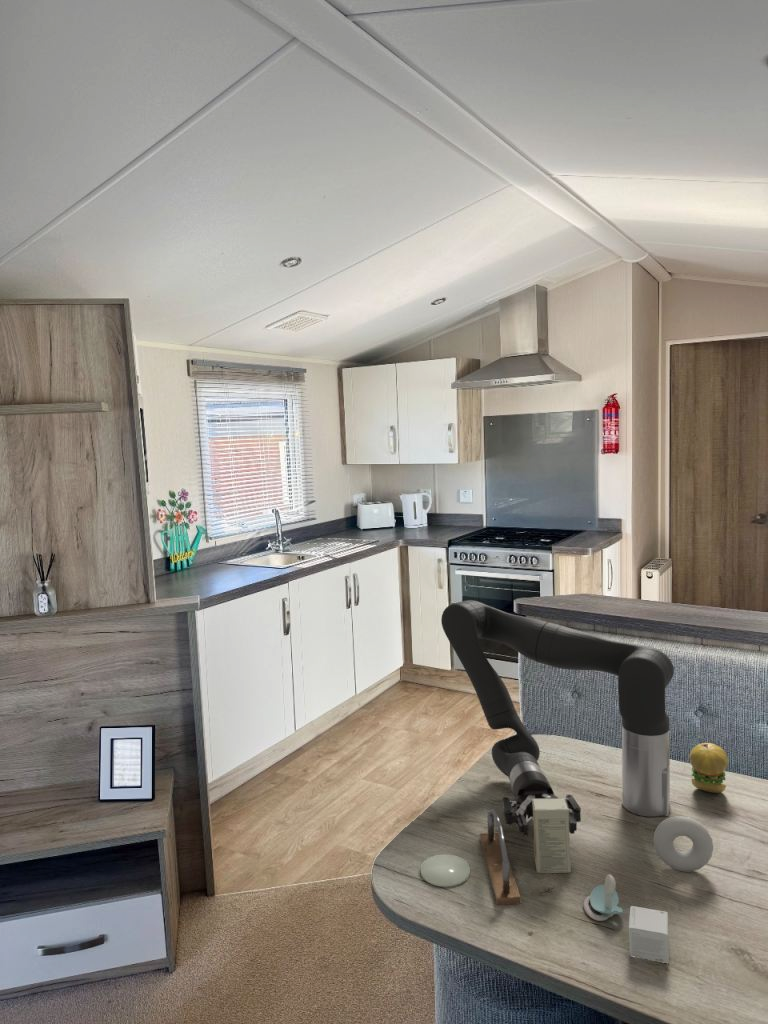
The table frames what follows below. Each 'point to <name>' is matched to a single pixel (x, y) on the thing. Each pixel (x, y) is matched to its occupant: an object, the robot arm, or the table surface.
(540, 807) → the skincare box
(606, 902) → the pacifier
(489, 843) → the wood and metal stand
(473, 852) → the table surface
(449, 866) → the glossy white rounded disc
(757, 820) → the table surface
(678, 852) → the donut
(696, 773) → the hamburger
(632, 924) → the small box
